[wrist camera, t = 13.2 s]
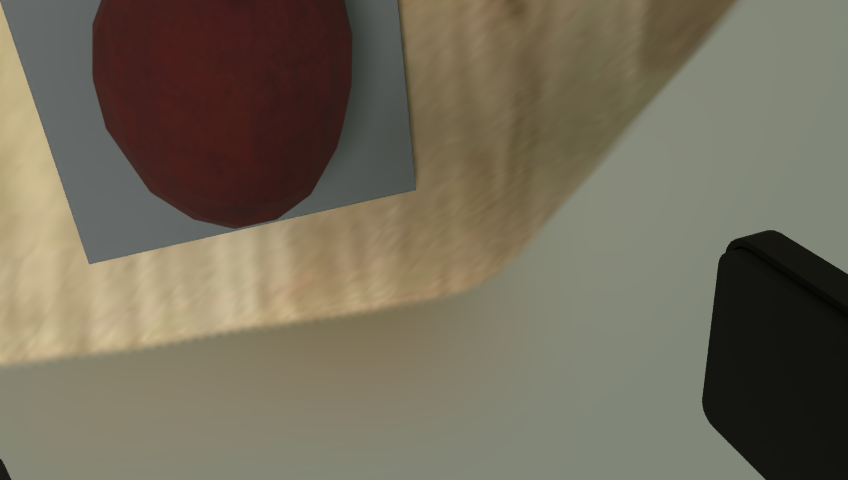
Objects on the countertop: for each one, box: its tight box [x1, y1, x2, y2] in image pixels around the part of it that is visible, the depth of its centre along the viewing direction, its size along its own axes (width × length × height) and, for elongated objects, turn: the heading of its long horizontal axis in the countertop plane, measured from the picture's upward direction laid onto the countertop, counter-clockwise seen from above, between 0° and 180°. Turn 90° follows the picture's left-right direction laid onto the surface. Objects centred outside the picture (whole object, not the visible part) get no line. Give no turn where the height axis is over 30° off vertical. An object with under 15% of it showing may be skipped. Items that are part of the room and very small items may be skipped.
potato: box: [92, 0, 353, 229], centre depth 23 cm, size 8×9×6 cm
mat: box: [0, 0, 416, 264], centre depth 26 cm, size 12×12×1 cm
